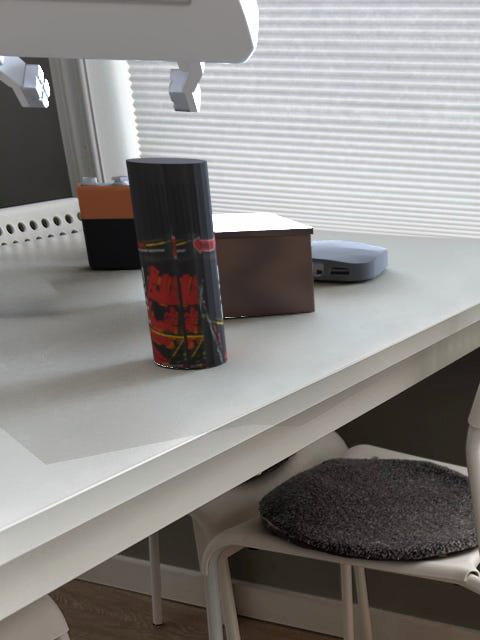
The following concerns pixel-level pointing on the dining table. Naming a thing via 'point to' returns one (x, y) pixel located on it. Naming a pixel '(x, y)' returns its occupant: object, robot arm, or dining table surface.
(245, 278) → the walnut box
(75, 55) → the robot arm
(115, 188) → the battery
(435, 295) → the dining table surface
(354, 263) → the media streaming box
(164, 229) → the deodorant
